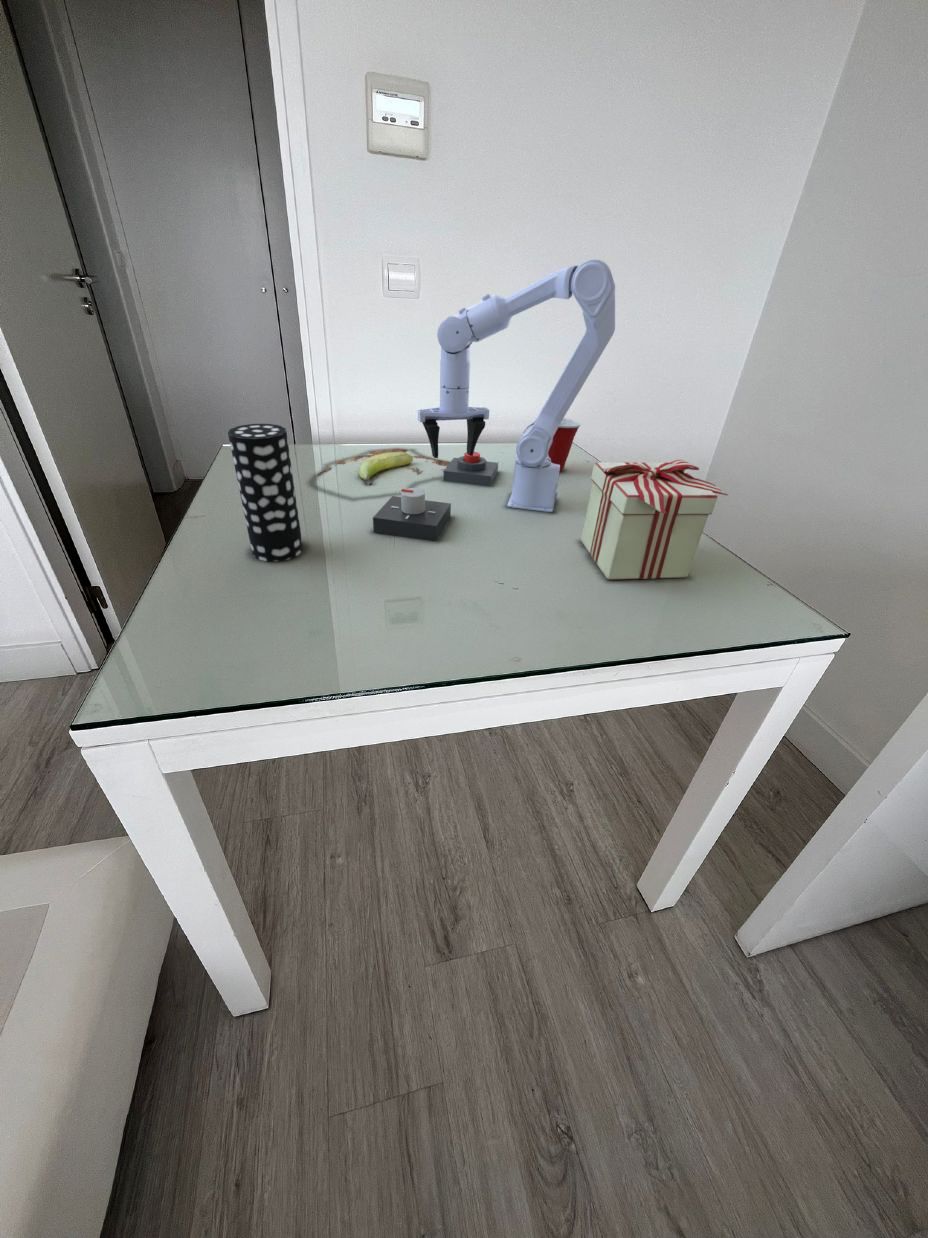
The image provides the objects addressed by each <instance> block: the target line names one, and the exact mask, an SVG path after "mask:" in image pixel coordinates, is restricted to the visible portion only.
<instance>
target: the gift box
mask: <svg viewBox="0 0 928 1238" xmlns="http://www.w3.org/2000/svg"><path fill="white" fill-rule="evenodd" d="M685 470H691V471H699V470H700V468H699V467H698V466H696V465H695V464H692V463H690V462H688V461H686V460H684V459H676V460H673V461H669V462H666V461H664V462H643V461H642V462H639V461H638V462H637V461H636V462H630V461H628V462H625V461H623V462H622V461H621V462H609V461H607V462H606V461H605V462H601V461H600V462H598V461H597V462H594V463H593V468H592V473H591V478H590V480H591V481H592V484H591V490H590V494H589V499H588V504H587V509H586V512H585V513H586V514H585V518H584V524H583V530H582V533H581V538H580V541H581V543H582V544H583V546H584V547H585V549H586V550H587V552H588V553H589V554H590V556H591V558H592V559H593V561H594V563H595V564H596V565H597V567H598V568H599V569H600V571H601V572H602V573H603V575H604V576H605V578H606V579H607V580H614V581H617V580H648V579H649V580H655V579H656V580H657V579H683V578H684V579H685V578H688V576H689V573H690V570H691V568H692V566H693V565H692V564H693V561H694V558H695V556H696V553H697V551H698V547H699V544H700V542H701V538H702V535H703V532H704V529H705V526H706V523H707V522H708V521H707V520H708V518H709V516H710V515H713V512H714V509H715V506H716V504H717V500H718V495H717V494H719V495H722V496H723V495H724V496H729V494H728V493H726V492H724V491H723V490H721V488H719V487H718V486H717V485H716V484H715V483H711V482H710V481H706V480H703V479H700V478H696V477H694V476H693V475H691V474H689V473H688V472H687V471H685Z"/></svg>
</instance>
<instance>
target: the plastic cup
mask: <svg viewBox="0 0 928 1238" xmlns="http://www.w3.org/2000/svg"><path fill="white" fill-rule="evenodd" d="M536 419H537V417H535V420H536ZM581 425H582V423H581V422H580V421H578V420H575V419H570V418H565V417H564V418H563V420H562V421H561V423H560V425H559V427H558V429H557V430H556V432H555V434H554V436H553V442H552V445H551V446H550V448H549V451H548V455H549V457H550V459H551V463H553V464H558V465H560V471H559V473H562V472H563V471H564V469H565V466H566V463H567V459H568V458H569V454H570V451H571V448H572V446H573V443H574V439H575V437H576V434H577V432H578V430H579V428H580V427H581Z"/></svg>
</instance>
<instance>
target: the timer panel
mask: <svg viewBox="0 0 928 1238" xmlns="http://www.w3.org/2000/svg"><path fill="white" fill-rule="evenodd" d="M451 512H452V503H450V502H442V501H435V500H426V499H425V511H424V512H423V513H420V514H406V513H404V512H402V510H401V496H395V495H391V497H390V498H389V499H388V500H387V502H385V504H383V505H382V507H381V508H380V509H379V510H378V511H377V512H376V514H374V516H372V526H373V527H372V528H373V533H375V534H383V535H388V536H396V537H404V538H410V539H411V538H412V539H417V540H426V541H431V542H432V541H433V542H437V540H438V539H439V537H440V536H441V534H442V532H443V531H444V529H445V528H446V526H447V524H448V522H450V519H451V517H452V516H451V514H452V513H451Z"/></svg>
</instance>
